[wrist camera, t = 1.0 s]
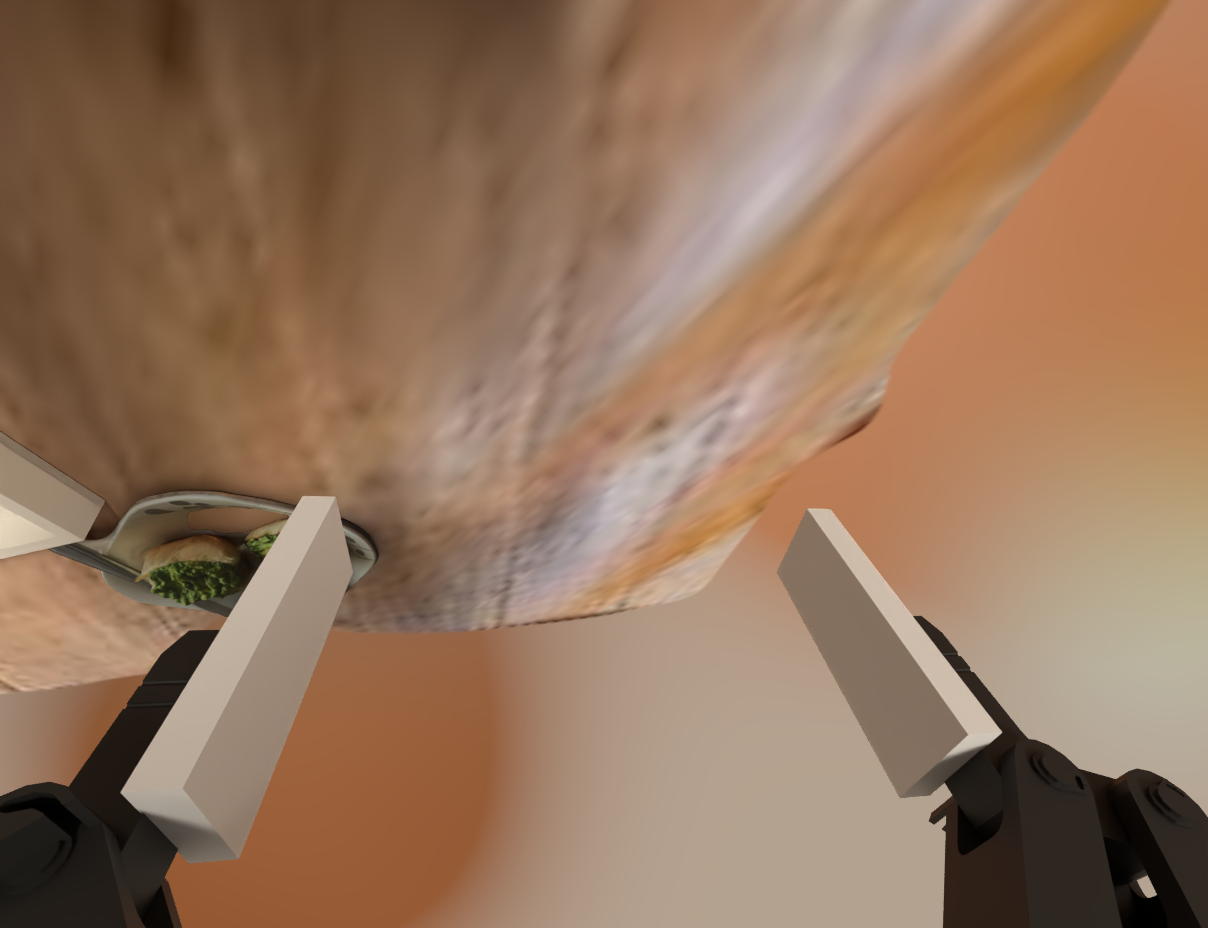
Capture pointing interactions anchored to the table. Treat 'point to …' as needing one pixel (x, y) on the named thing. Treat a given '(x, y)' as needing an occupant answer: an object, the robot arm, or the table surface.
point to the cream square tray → (40, 503)
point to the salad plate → (194, 552)
